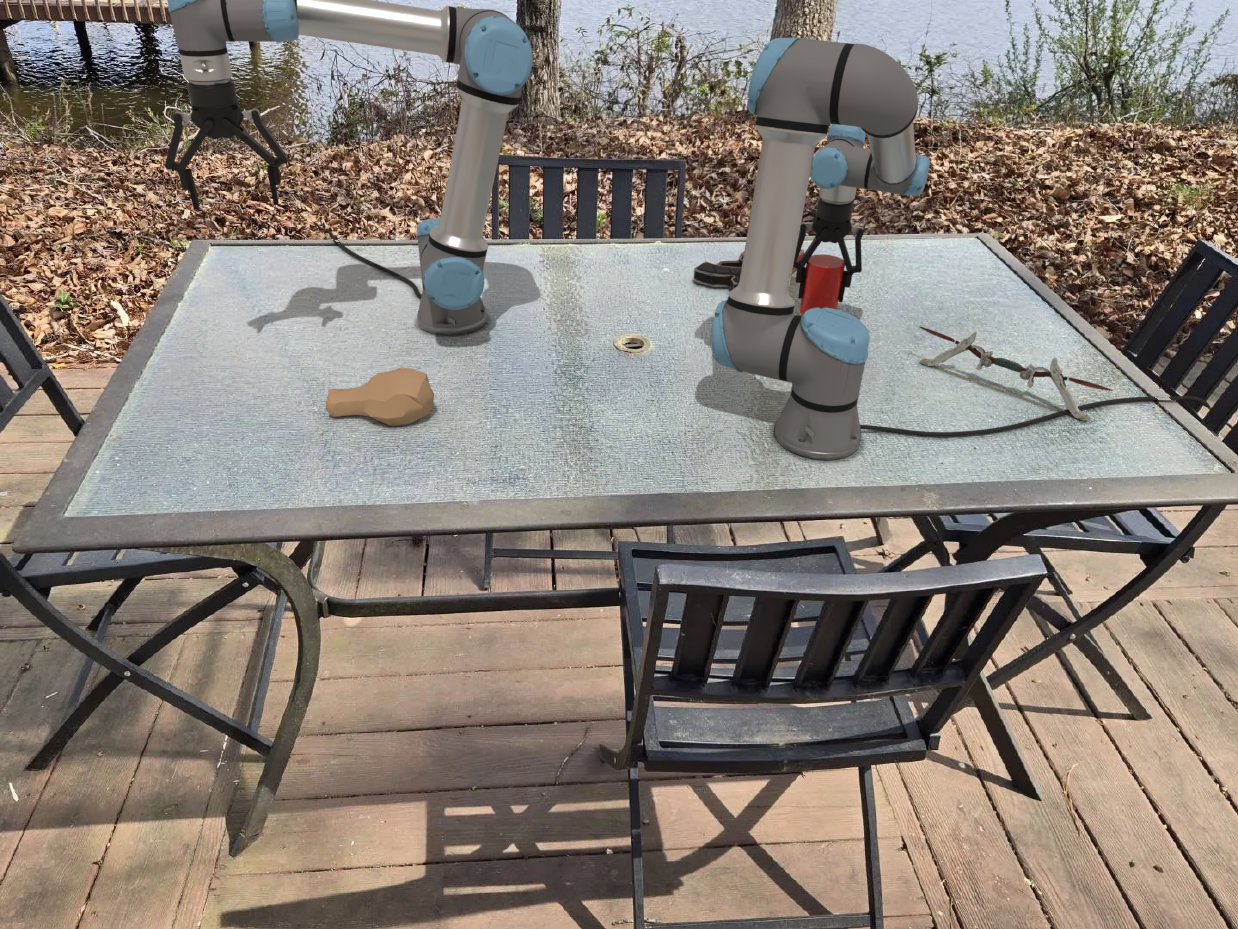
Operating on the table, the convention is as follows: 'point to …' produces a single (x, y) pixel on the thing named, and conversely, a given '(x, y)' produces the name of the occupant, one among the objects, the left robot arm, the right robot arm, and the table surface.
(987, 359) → the bow
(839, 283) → the tin
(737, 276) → the gun
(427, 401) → the squash
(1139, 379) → the table surface
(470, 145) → the left robot arm
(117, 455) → the table surface
